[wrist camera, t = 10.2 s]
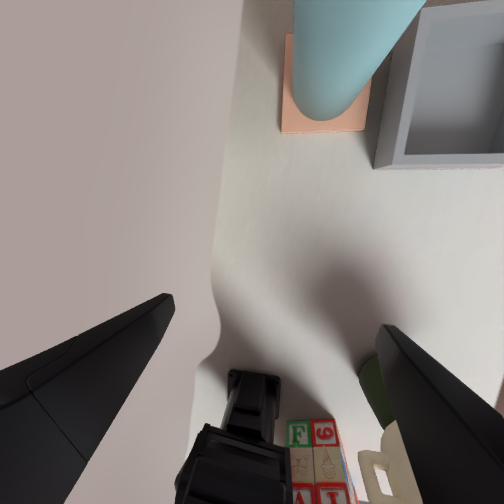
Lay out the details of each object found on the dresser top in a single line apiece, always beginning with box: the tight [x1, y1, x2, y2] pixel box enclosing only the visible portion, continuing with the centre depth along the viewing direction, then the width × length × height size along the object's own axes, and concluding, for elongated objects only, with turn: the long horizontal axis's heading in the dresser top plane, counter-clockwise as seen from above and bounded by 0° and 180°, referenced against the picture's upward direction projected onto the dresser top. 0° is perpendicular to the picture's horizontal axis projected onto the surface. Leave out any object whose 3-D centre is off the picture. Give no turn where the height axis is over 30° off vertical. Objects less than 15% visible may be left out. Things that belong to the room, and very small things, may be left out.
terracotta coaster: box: [281, 33, 372, 133], centre depth 16 cm, size 6×6×1 cm
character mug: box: [358, 355, 423, 504], centre depth 16 cm, size 11×7×13 cm, turn 92°
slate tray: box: [373, 0, 504, 169], centre depth 14 cm, size 8×8×3 cm
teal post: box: [292, 0, 426, 121], centre depth 10 cm, size 5×5×12 cm
